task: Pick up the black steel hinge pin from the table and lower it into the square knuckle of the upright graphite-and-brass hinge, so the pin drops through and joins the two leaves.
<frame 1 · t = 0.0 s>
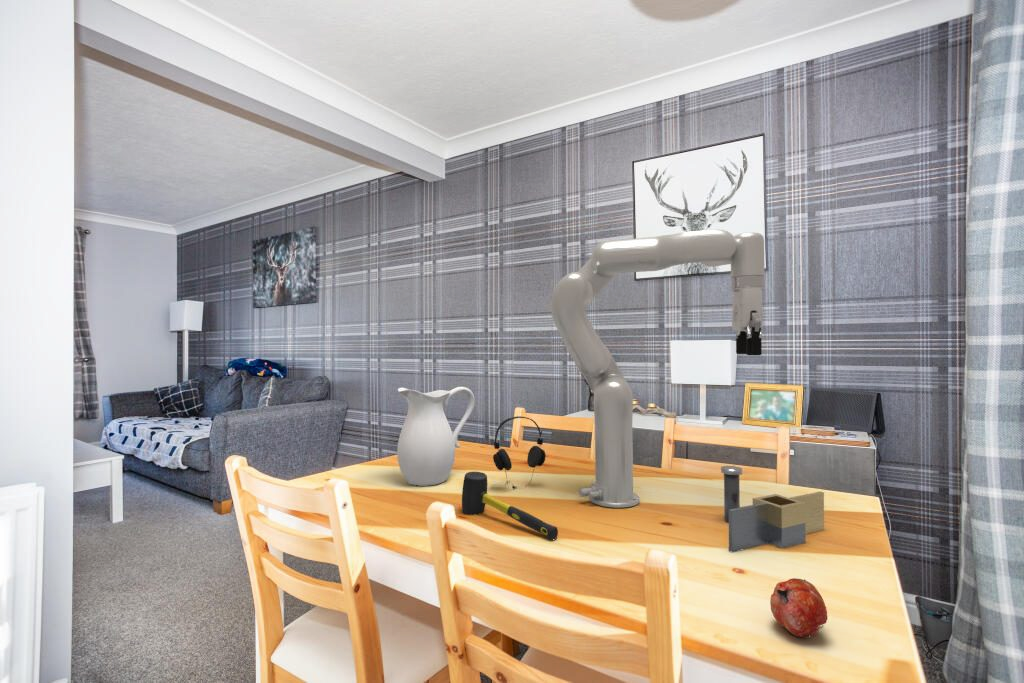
hand: (748, 354, 127), 37 cm above the table, tool pointing down, fingers open, 9 cm apart
hinge: (778, 539, 106), on the table
headphones: (516, 487, 146), on the table
mallet: (507, 524, 117), on the table
pitcher: (438, 480, 155), on the table
pomegranate: (799, 631, 73), on the table
hinge pin: (732, 521, 117), on the table
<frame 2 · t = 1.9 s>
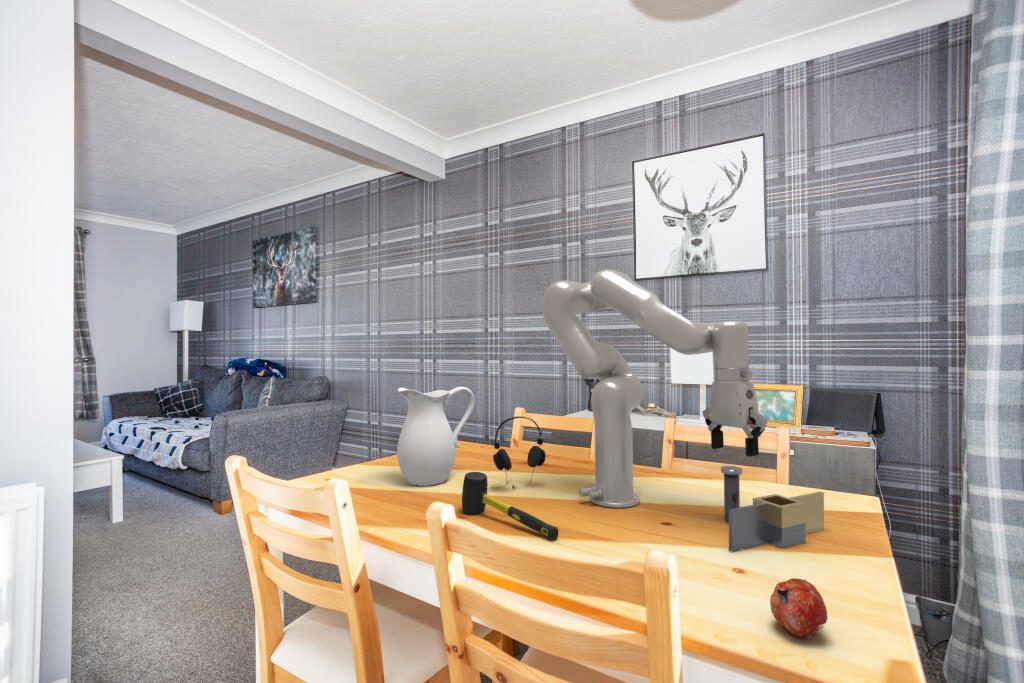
hand: (734, 451, 116), 16 cm above the table, tool pointing down, fingers open, 9 cm apart
nothing on the table moved.
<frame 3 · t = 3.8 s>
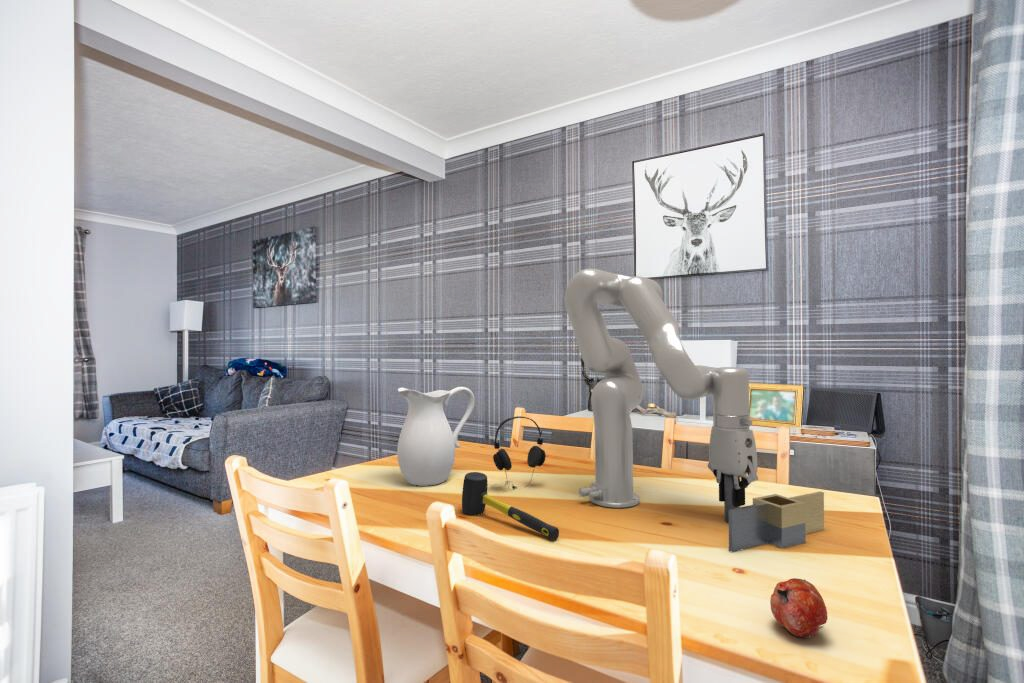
hand: (731, 502, 117), 4 cm above the table, tool pointing down, fingers closed on hinge pin, 3 cm apart
hinge pin: (732, 521, 117), on the table, touching gripper
everything else where it was.
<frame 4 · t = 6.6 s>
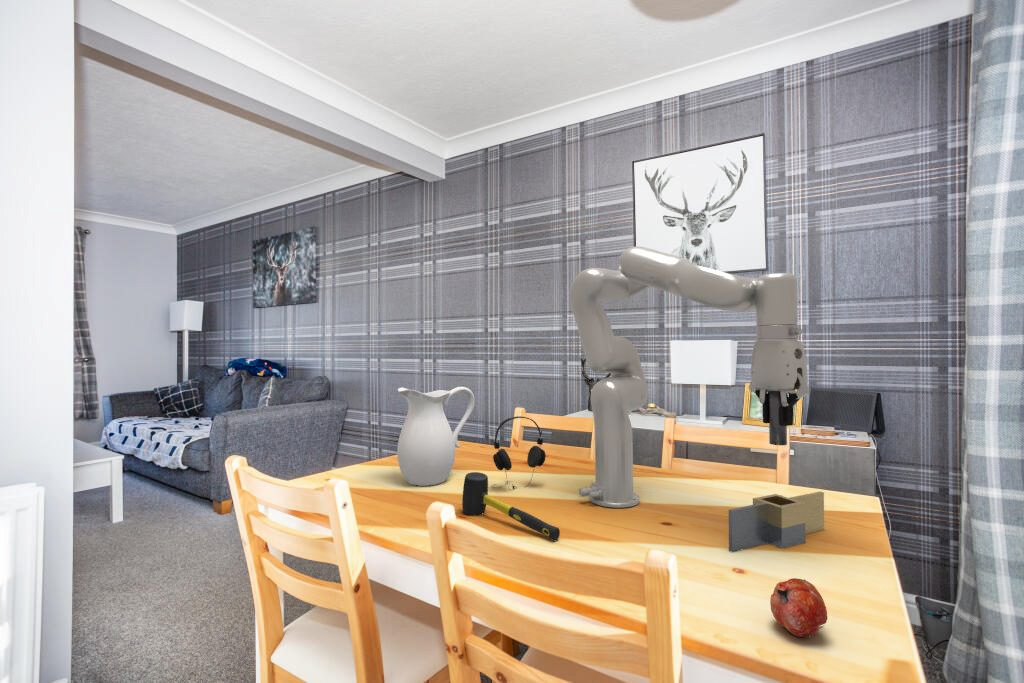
hand: (777, 423, 106), 24 cm above the table, tool pointing down, fingers closed on hinge pin, 3 cm apart
hinge pin: (778, 443, 106), point 20 cm above the table, touching gripper
everything else where it was.
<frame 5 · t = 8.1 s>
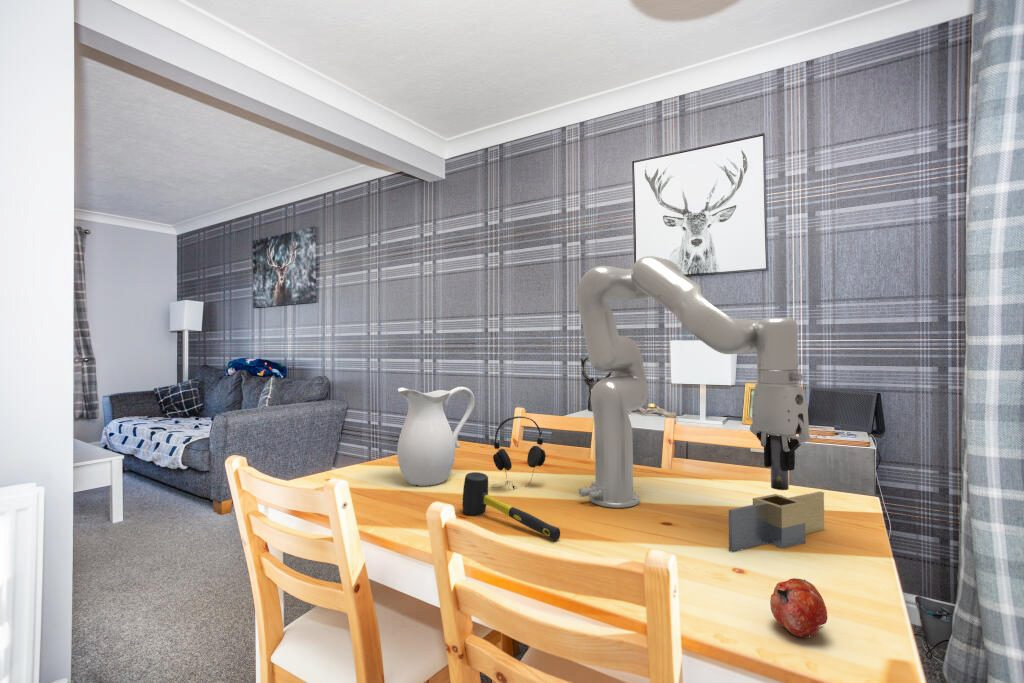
hand: (779, 467, 106), 15 cm above the table, tool pointing down, fingers closed on hinge pin, 3 cm apart
hinge pin: (779, 487, 106), point 11 cm above the table, touching gripper
everything else where it was.
when the fingers open (10 cm above the table, at t = 9.5 s): hinge pin drops 3 cm, resting in hinge.
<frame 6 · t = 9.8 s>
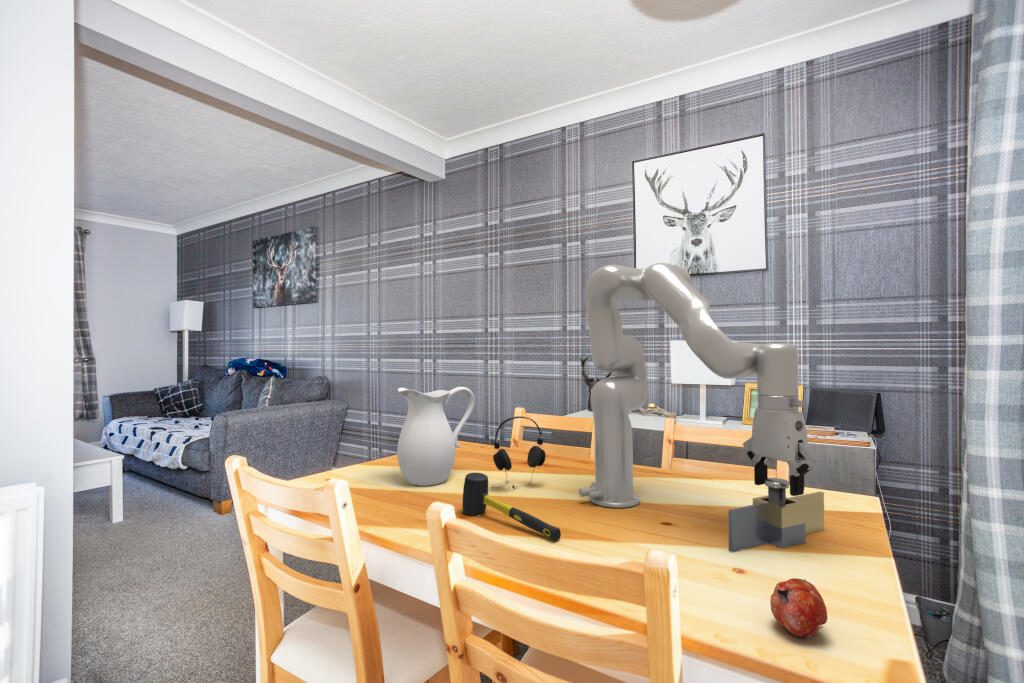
hand: (778, 488, 106), 10 cm above the table, tool pointing down, fingers open, 7 cm apart
hinge pin: (777, 539, 106), resting in hinge
everything else where it was.
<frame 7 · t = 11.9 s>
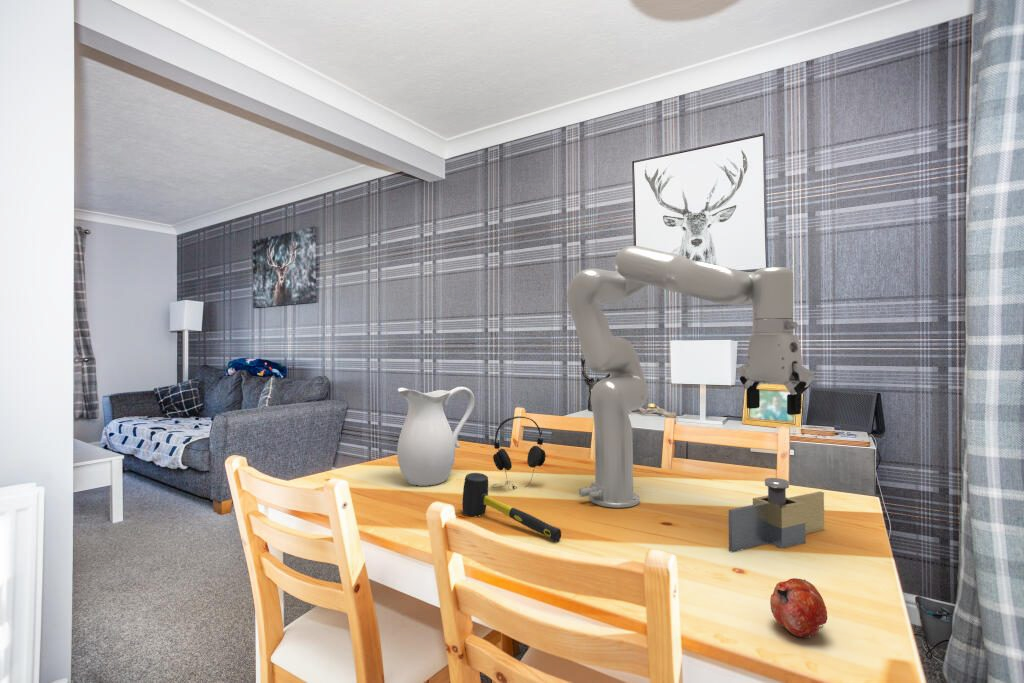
hand: (772, 411, 106), 26 cm above the table, tool pointing down, fingers open, 9 cm apart
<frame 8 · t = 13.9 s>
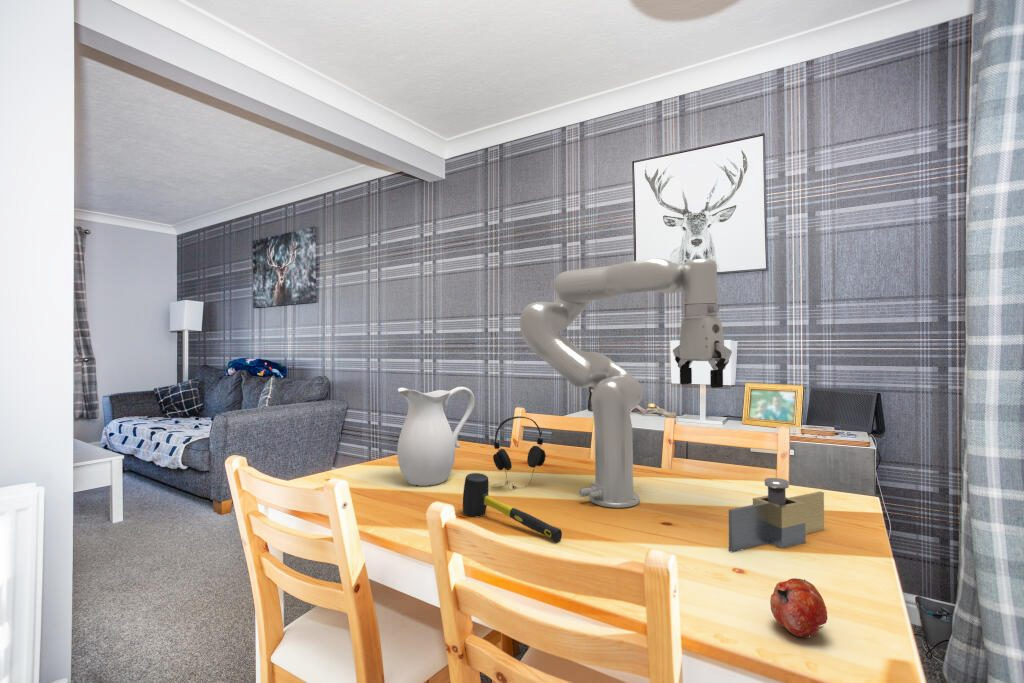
hand: (700, 385, 121), 30 cm above the table, tool pointing down, fingers open, 9 cm apart
at the end: hinge pin 0.4 cm off-centre on the hinge, point 0.0 cm above the hinge's base; hinge pin tilted 0°; the gripper is holding nothing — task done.
